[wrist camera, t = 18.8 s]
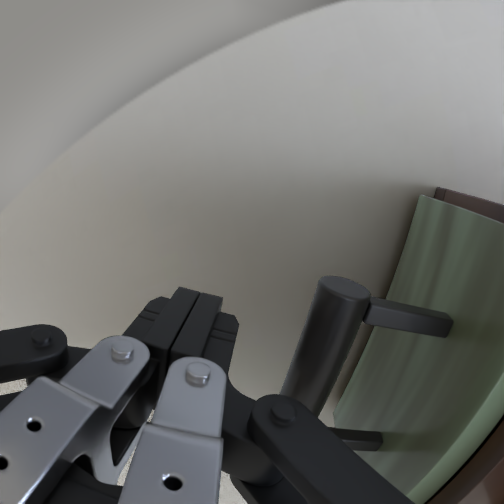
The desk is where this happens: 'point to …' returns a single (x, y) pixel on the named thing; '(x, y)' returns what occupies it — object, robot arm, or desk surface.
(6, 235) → the desk surface
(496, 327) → the drawer
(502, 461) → the dresser
